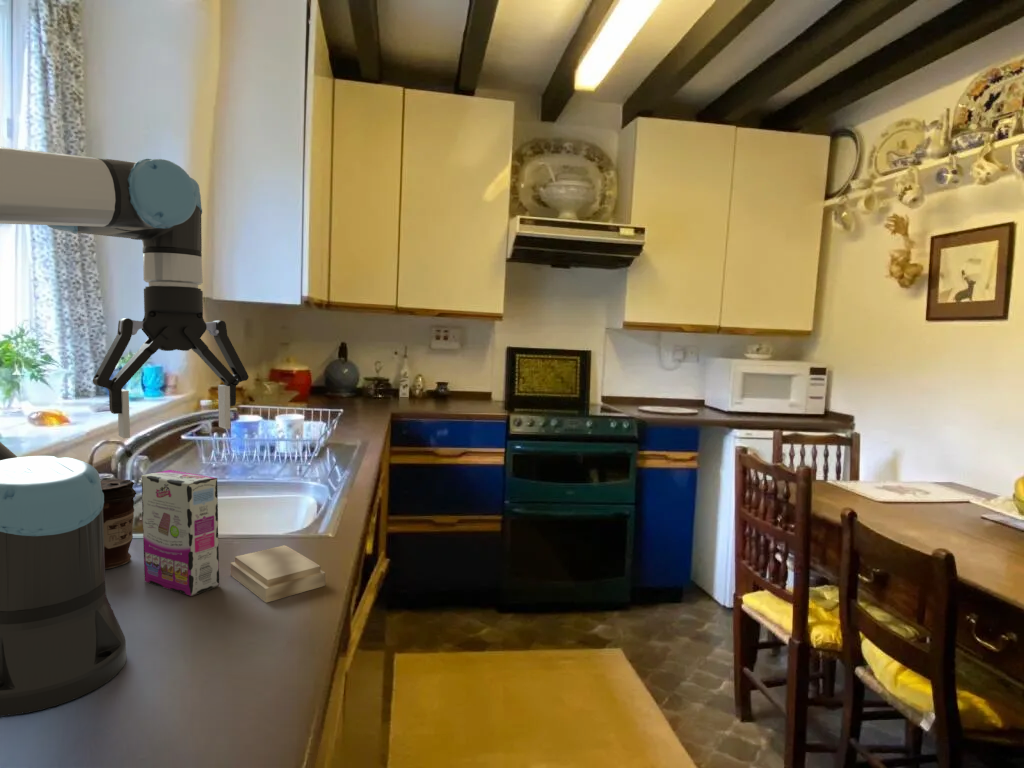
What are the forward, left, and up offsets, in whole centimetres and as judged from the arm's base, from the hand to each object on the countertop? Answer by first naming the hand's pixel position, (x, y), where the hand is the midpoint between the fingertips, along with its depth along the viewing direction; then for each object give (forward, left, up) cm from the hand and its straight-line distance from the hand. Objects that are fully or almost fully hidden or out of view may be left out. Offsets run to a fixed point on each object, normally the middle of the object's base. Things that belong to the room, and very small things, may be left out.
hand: (176, 432), depth 95 cm
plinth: (+11, -9, -23) cm, 27 cm away
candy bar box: (0, -1, -23) cm, 23 cm away
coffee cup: (-6, +15, -23) cm, 28 cm away
